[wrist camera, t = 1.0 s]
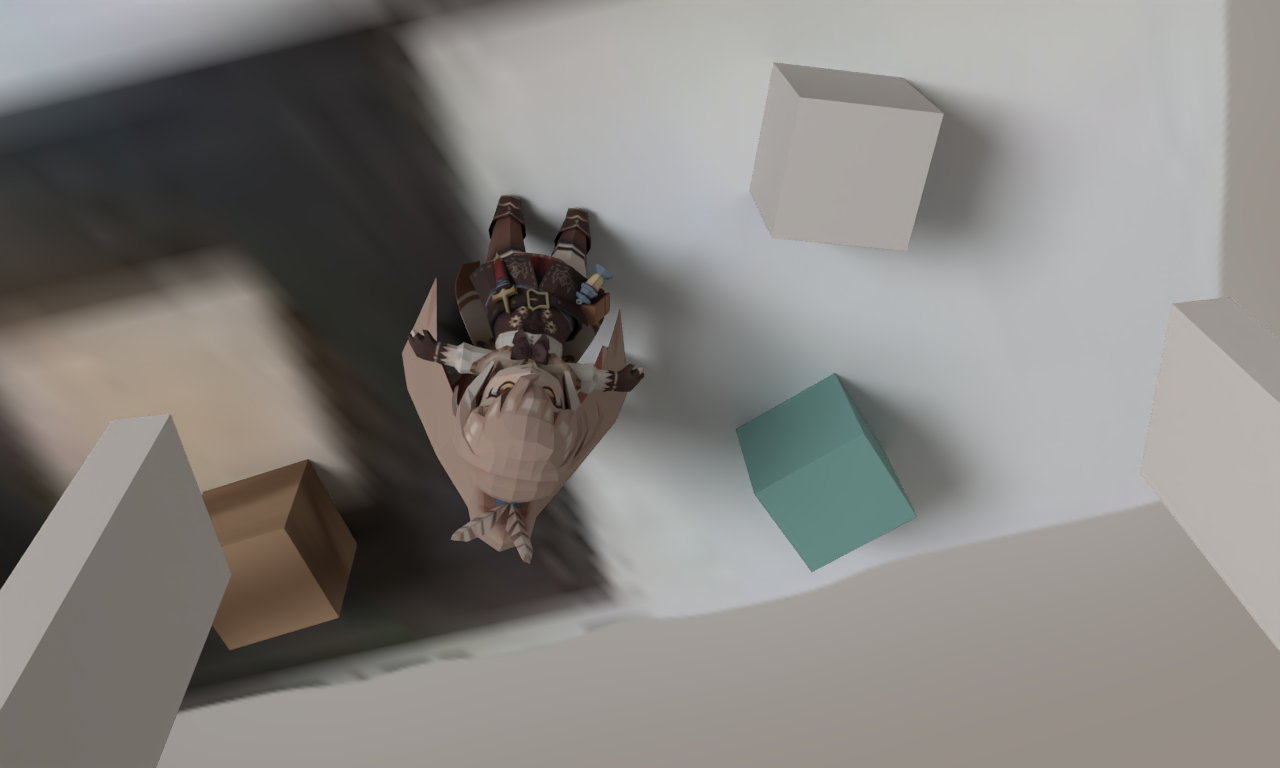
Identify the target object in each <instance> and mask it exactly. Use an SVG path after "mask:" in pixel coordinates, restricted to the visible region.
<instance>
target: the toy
mask: <svg viewBox="0 0 1280 768" xmlns="http://www.w3.org/2000/svg"><path fill="white" fill-rule="evenodd" d="M489 235H490V239H491V241H490V245H489V251H488V256H487V262H486V263H485V264H482V265H481V266H480V261H477V262H473V263H468V264H464V265H461V267H460V270H459V273H458V276H457V279H456V282H455V290H456V298H457V302H458V306H459V310H460V314H461V316H462V319H463V321H464V324H465V327H466V329H467V331H468V334H469V336H470V338H471V340H472V343H473V345H474V346H473V345H470V344H467V343H465V342H464V343H462V344H461V345H459V346H454V345H450V343H441V342H437V277H436V279H435V281H434V283H433V286H432V288H431V290H430V292H429V295H428V297H427V299H426V301H425V304H424V306H423V308H422V310H421V312H420V315H419V317H418V319H417V321H416V324H415V326H414V328H413V330H412V331H411V334H409V335H408V337H407V338H408V341H407V344H406V346H405V348H404V350H403V352H402V356H403V363H404V370H405V376H406V383H407V389H408V391H409V394H410V396H411V398H412V400H413V403H414V405H415V407H416V410H417V412H418V414H419V416H420V419H421V421H422V423H423V426H424V428H425V430H426V432H427V435H428V437H429V439H430V442H431V444H432V446H433V448H434V451H435V453H436V455H437V457H438V459H439V460H440V462H441V464H442V465H443V467H444V469H445V470H446V472H447V474H448V475H449V477H450V478H451V480H452V482H453V483H454V485H455V487H456V488H457V490H458V492H459V493H460V495H461V497H462V498H463V500H464V501H465V503H466V505H467V506H468V510H469V515H470V520H471V521H470V522H469V523H467V524H466V525H464V526H463V527H462V528H460V529H459V530H457V531H456V532H454V533H453V536H452V538H451V540H457V541H470V540H472V539H474V538H477V537H479V538H480V539H481V540H483V541H484V542H486V543H487V544H489V545H490V546H492V547H493V548H494V549H496V550H497V551H499V552H500V551H503V550H506V549H509V548H512V547H515V546H516V548H517V550H518V552H519V554H520V556H521V558H522V560H523V561H524V562H527V563H529V564H530V562H531V558H532V554H533V549H532V546H531V542H530V537H531V533H532V530H533V526H534V523H535V519H536V516H537V515H538V514H539V513H540V512H541V511H542V509H543V508H544V507H545V506H546V505H547V504H548V503H549V501H550V500H551V499H552V498H553V497H554V496H555V494H556V493H557V492H558V491H559V490H560V489H561V487H562V486H563V485H564V484H565V483H566V482H567V480H568V479H569V478H570V477H571V476H572V474H573V473H574V472H575V471H576V470H577V468H578V467H579V466H580V465H581V463H582V462H583V461H584V460H585V458H586V457H587V456H588V455H589V454H590V452H591V451H592V450H593V449H594V447H595V446H596V445H597V444H598V442H599V441H600V440H601V439H602V438H603V436H604V435H605V434H606V433H607V431H608V430H609V429H610V428H611V426H612V425H613V424H614V423H615V421H616V419H617V417H618V414H619V412H620V409H621V407H622V405H623V402H624V400H625V398H626V395H627V393H628V392H629V391H631V390H632V389H633V388H634V387H635V386H636V385H637V384H638V383H639V382H640V380H641V379H642V378H643V377H644V373H642V372H643V368H641V367H640V368H637V369H635V370H632V369H633V367H634V366H635V365H633V364H628V365H627V366H626V361H625V352H624V342H623V333H622V323H621V314H620V311H619V314H618V317H617V321H616V324H615V327H614V331H613V334H612V337H611V340H610V344H609V347H608V350H606V349H605V348H604V346H602V349H601V351H600V353H599V356H598V358H597V360H596V363H595V365H594V364H576V363H577V362H578V360H579V359H580V358H581V356H582V355H583V354H584V352H585V351H586V349H587V348H588V346H589V345H590V343H591V342H592V340H593V339H594V337H595V336H596V334H597V332H598V330H599V328H600V326H601V324H602V322H603V319H604V316H605V315H606V314H607V313H608V312H609V310H610V296H609V293H607V294H606V293H604V290H602V289H601V288H600V287H601V286H602V284H603V282H604V279H608V280H609V279H611V278H612V277H613V275H612V274H611V273H610V272H609V271H608V270H607V269H606V268H605V267H603V266H601V265H599V264H597V265H596V266H595V270H596V273H595V274H594V275H592V276H591V277H590V278H589V279H587V278H586V266H587V263H586V255H587V253H588V252H589V250H590V248H591V237H590V231H589V224H588V212H587V211H585V210H582V209H580V208H569V209H568V212H567V215H566V219H565V221H564V223H563V225H562V227H561V229H560V231H559V232H558V234H557V236H556V238H555V240H554V243H555V248H554V251H553V253H552V255H551V257H550V256H547V255H543V254H535V253H526V251H525V246H524V241H523V240H524V238H525V236H526V230H525V223H524V220H523V216H522V213H521V199H519V198H517V197H515V196H512V195H502V196H501V197H500V199H499V202H498V206H497V209H496V212H495V215H494V218H493V221H492V223H491V225H490V228H489ZM445 365H450V366H454V367H455V368H456V369H457V371H458V372H457V373H454V374H451V375H448V373H447V371H446V368H445ZM472 374H474V375H476V376H477V378H476V379H475V380H474V381H473V382H472ZM488 382H489V384H488ZM487 384H488V385H487ZM486 385H487V386H486ZM485 387H486V388H485ZM484 389H485V390H484ZM576 391H579V393H578V394H577V392H576Z"/></svg>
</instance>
